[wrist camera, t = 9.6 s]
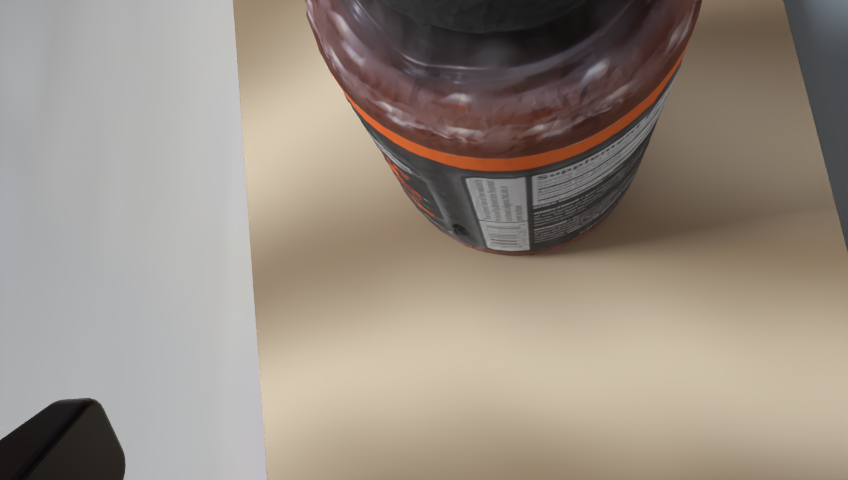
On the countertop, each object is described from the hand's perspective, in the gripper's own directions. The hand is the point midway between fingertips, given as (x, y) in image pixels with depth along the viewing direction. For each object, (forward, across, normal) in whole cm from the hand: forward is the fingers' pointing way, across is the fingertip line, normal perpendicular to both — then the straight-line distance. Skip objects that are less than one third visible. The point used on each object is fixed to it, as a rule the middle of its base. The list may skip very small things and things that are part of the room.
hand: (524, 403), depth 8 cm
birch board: (+11, 0, +6) cm, 12 cm away
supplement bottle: (+12, 0, +3) cm, 13 cm away
